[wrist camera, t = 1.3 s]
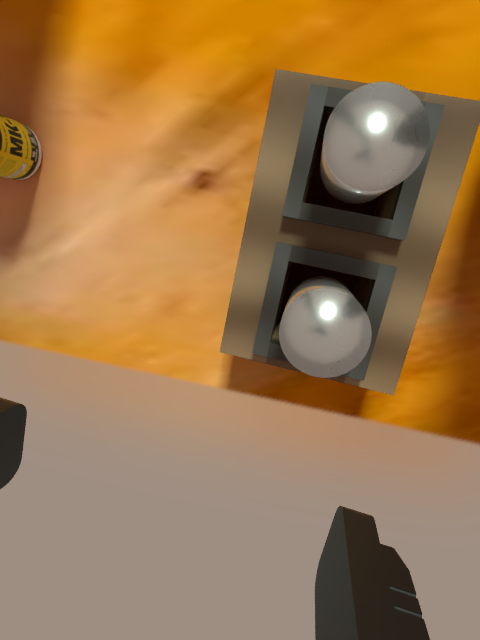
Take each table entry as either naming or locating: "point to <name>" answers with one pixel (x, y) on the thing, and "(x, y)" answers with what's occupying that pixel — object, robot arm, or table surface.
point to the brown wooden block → (343, 228)
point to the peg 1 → (324, 328)
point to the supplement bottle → (18, 150)
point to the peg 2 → (373, 142)
